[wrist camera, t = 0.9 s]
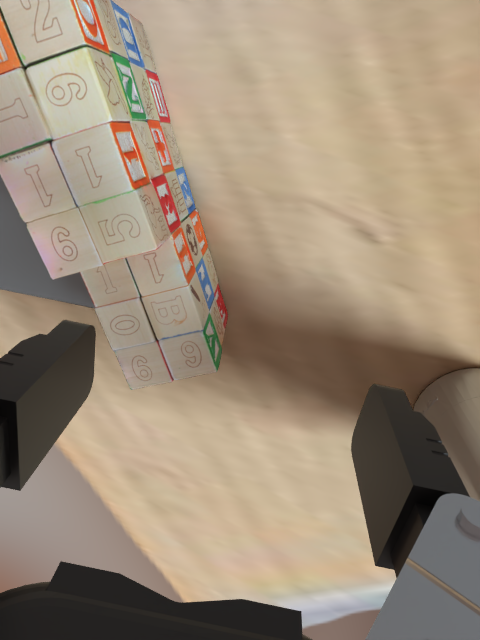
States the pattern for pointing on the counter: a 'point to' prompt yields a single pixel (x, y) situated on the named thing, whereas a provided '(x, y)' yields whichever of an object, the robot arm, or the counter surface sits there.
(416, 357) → the counter surface
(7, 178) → the stack of blocks
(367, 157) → the counter surface
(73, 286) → the mat
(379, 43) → the counter surface
